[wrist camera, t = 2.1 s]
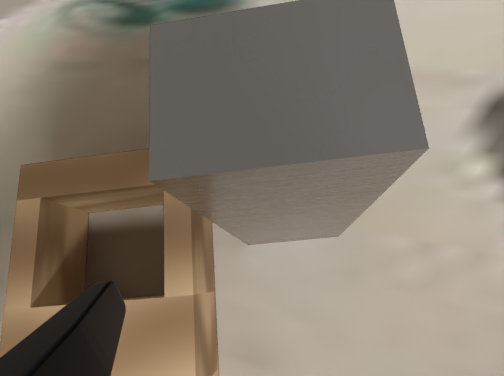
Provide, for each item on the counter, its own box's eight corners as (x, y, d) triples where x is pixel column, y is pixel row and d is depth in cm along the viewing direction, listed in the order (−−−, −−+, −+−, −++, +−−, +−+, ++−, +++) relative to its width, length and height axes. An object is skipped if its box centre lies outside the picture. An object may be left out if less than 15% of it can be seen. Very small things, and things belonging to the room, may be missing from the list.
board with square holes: (226, 538, 15) (203, 625, 11) (46, 538, 16) (-32, 618, 12) (209, 168, 20) (188, 143, 16) (71, 185, 21) (20, 164, 17)
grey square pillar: (338, 236, 18) (428, 148, 6) (248, 244, 19) (149, 181, 6) (328, 168, 19) (386, -31, 7) (243, 178, 20) (149, 10, 7)
